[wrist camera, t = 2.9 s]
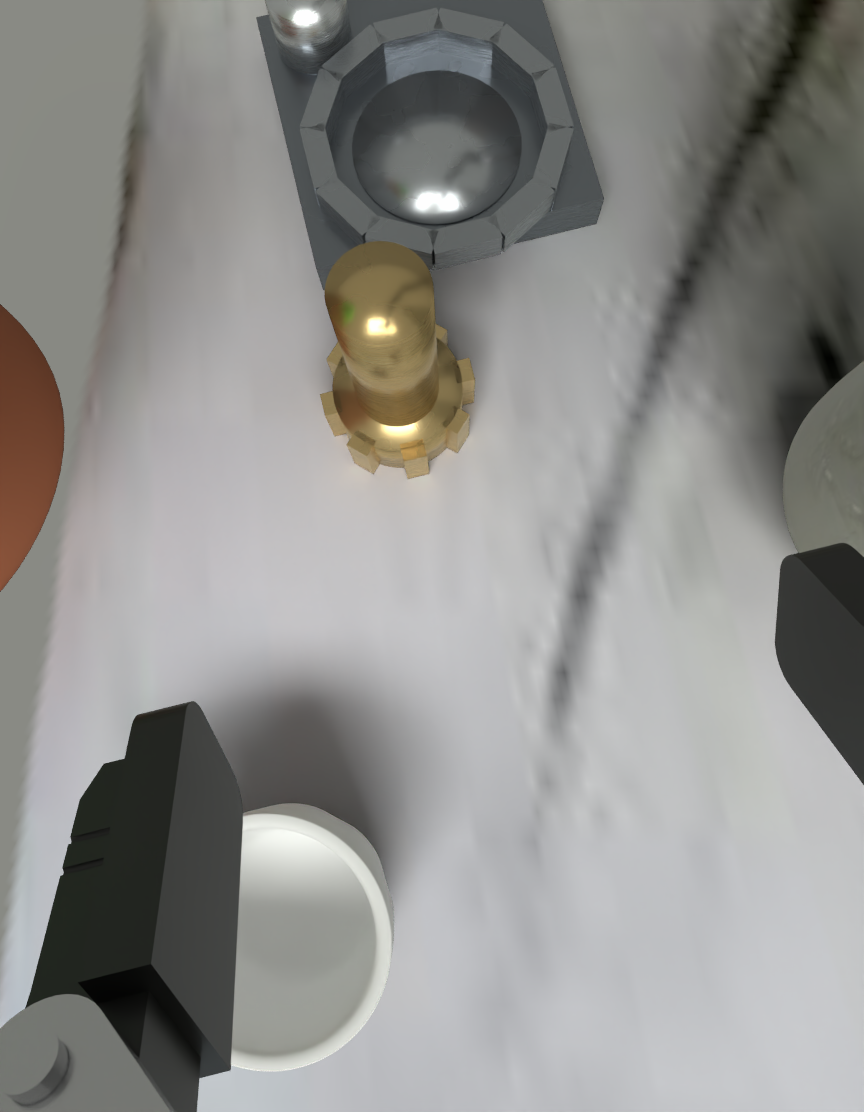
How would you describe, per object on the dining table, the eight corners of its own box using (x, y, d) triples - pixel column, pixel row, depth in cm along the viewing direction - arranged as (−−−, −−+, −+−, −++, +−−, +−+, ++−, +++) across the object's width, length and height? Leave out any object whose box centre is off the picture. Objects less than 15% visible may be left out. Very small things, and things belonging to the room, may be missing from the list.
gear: (453, 327, 34) (452, 179, 24) (488, 458, 33) (502, 359, 23) (317, 360, 34) (260, 225, 24) (348, 493, 33) (302, 408, 23)
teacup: (438, 851, 31) (435, 884, 25) (344, 1047, 30) (319, 1124, 24) (210, 729, 32) (161, 736, 26) (110, 914, 31) (39, 960, 25)
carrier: (523, -12, 37) (535, -137, 31) (604, 250, 35) (632, 166, 29) (266, 50, 37) (232, -64, 31) (329, 317, 34) (305, 245, 29)
